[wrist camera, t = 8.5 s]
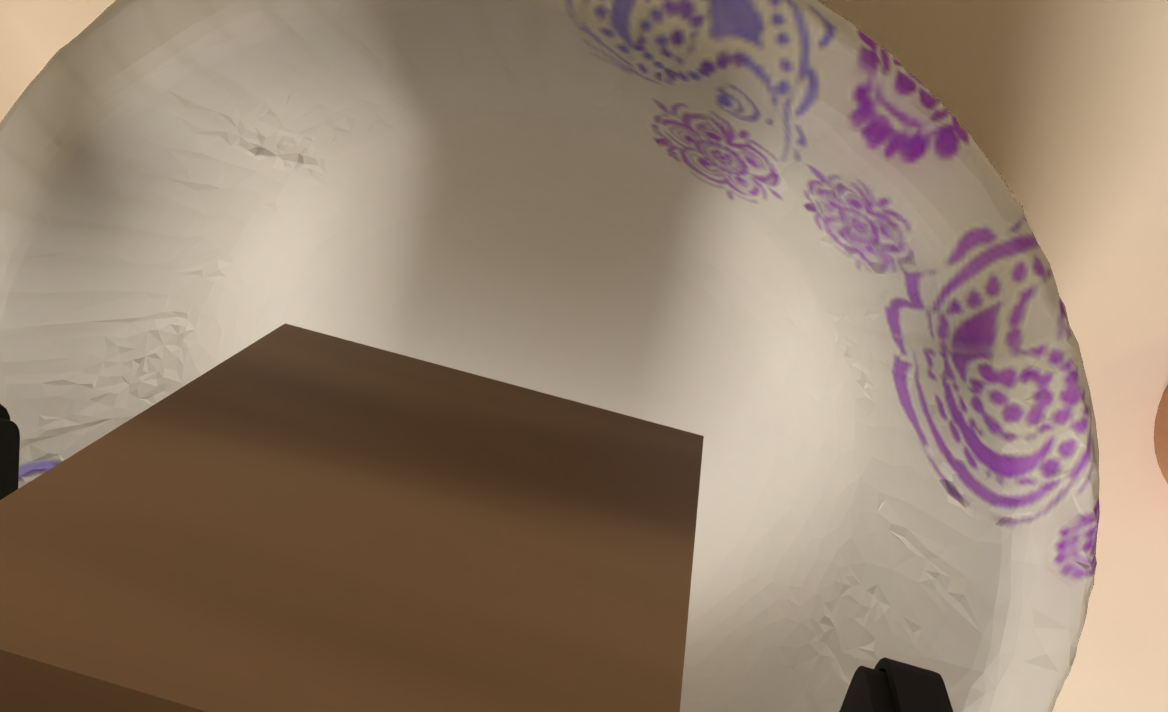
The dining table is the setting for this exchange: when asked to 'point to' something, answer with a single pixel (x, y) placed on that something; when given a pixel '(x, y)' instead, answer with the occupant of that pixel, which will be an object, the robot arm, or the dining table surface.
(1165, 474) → the cylinder
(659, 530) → the walnut block
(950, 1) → the dining table surface
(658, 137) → the paper bowls
